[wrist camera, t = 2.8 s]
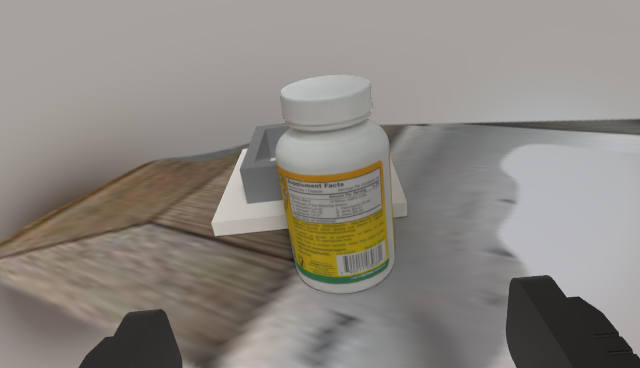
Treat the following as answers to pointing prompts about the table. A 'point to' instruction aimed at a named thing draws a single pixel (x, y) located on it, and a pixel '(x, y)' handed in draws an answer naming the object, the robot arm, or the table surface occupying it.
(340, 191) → the supplement bottle
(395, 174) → the dock
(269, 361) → the table surface
